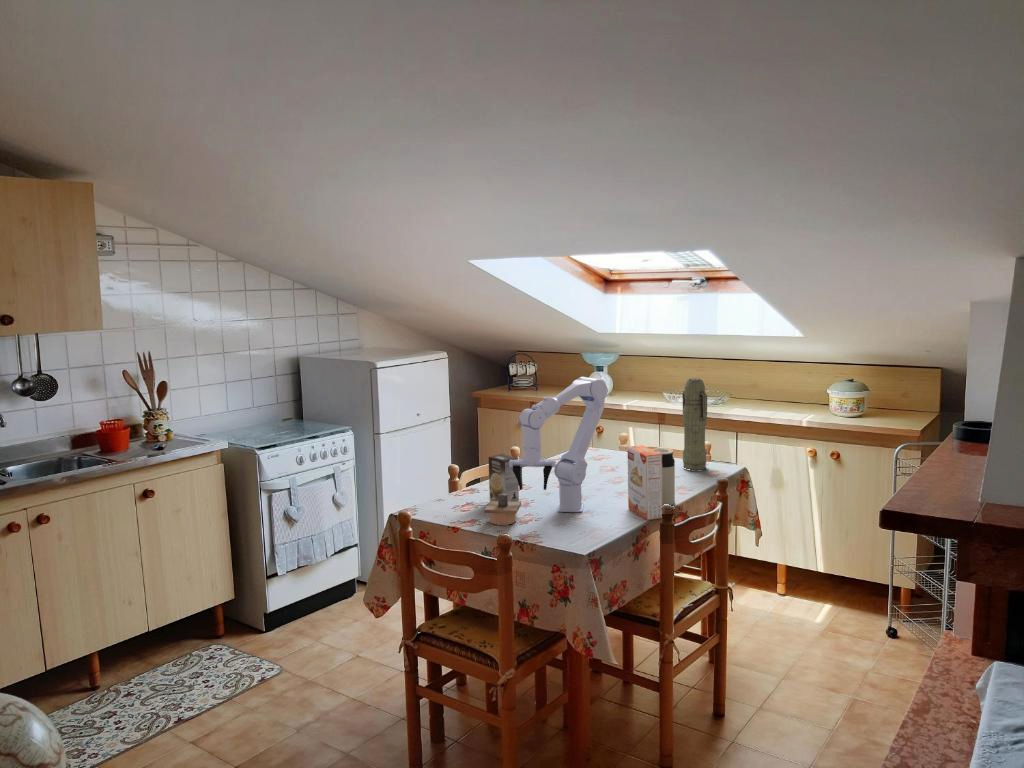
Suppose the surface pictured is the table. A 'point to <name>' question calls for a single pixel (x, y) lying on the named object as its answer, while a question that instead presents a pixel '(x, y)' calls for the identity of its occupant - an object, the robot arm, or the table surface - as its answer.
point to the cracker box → (645, 482)
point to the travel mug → (667, 475)
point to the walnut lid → (503, 505)
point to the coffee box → (502, 478)
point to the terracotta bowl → (502, 518)
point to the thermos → (694, 424)
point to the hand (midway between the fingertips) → (533, 488)
